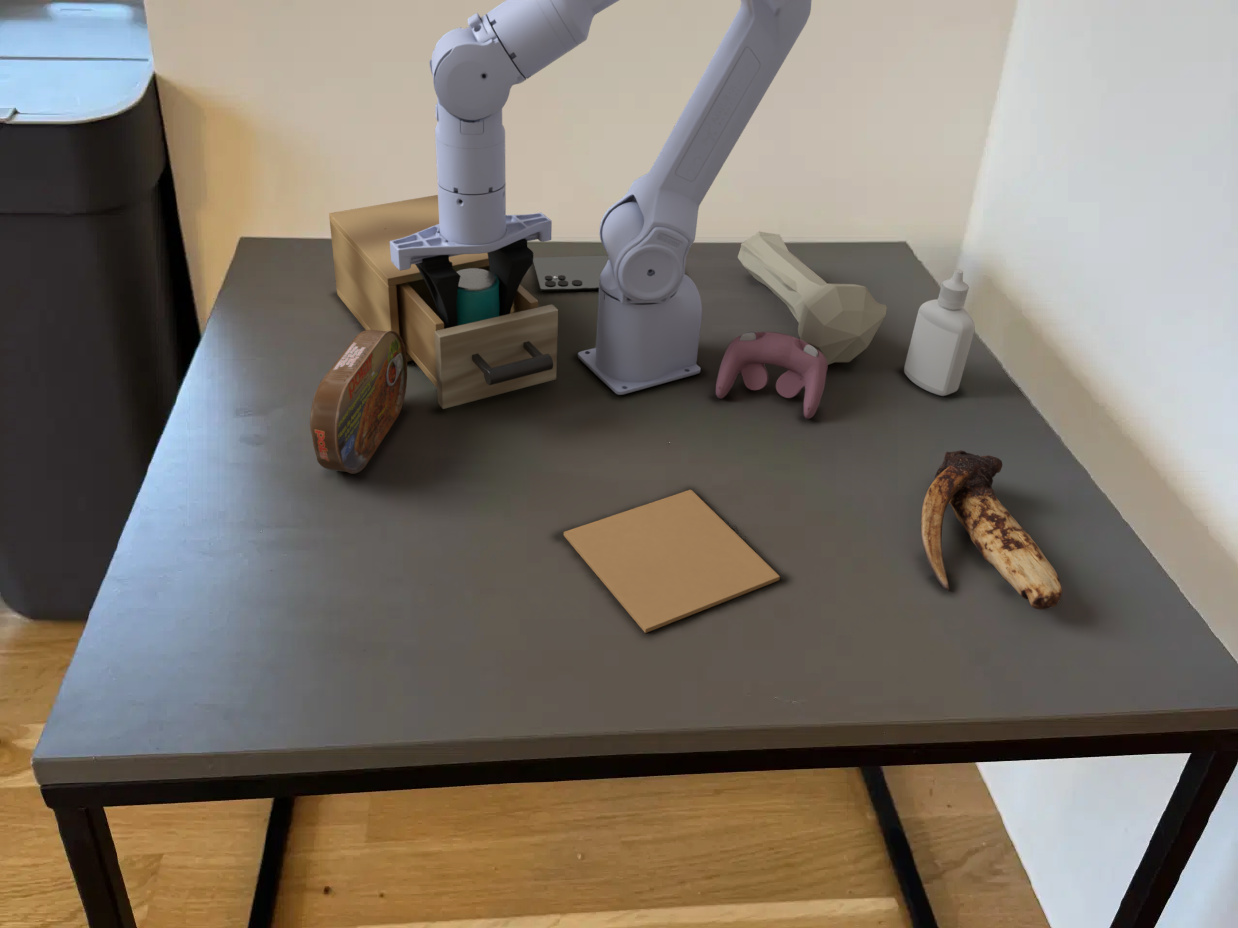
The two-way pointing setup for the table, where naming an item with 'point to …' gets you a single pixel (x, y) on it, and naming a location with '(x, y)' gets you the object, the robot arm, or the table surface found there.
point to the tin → (359, 400)
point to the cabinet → (381, 257)
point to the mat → (670, 559)
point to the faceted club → (814, 299)
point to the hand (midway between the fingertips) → (475, 323)
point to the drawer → (478, 346)
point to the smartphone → (569, 272)
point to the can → (477, 296)
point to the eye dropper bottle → (941, 339)
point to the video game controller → (778, 350)
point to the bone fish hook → (985, 528)
